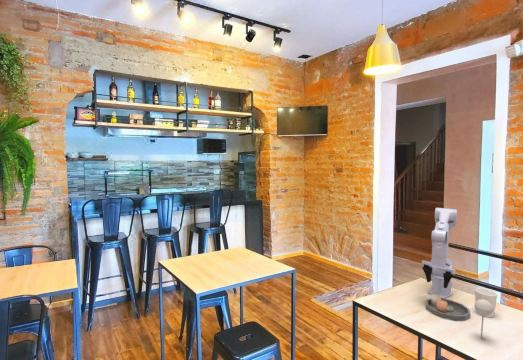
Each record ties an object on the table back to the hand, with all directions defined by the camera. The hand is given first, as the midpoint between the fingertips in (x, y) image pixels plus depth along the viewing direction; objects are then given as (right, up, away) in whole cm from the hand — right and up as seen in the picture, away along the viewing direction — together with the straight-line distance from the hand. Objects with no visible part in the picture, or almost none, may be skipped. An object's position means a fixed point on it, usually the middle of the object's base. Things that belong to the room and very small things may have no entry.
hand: (437, 284), depth 146 cm
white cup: (+18, -11, -5) cm, 22 cm away
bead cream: (0, -10, +1) cm, 10 cm away
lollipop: (+3, -13, -24) cm, 28 cm away
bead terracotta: (-2, -10, -6) cm, 12 cm away
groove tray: (+3, -11, -3) cm, 12 cm away
